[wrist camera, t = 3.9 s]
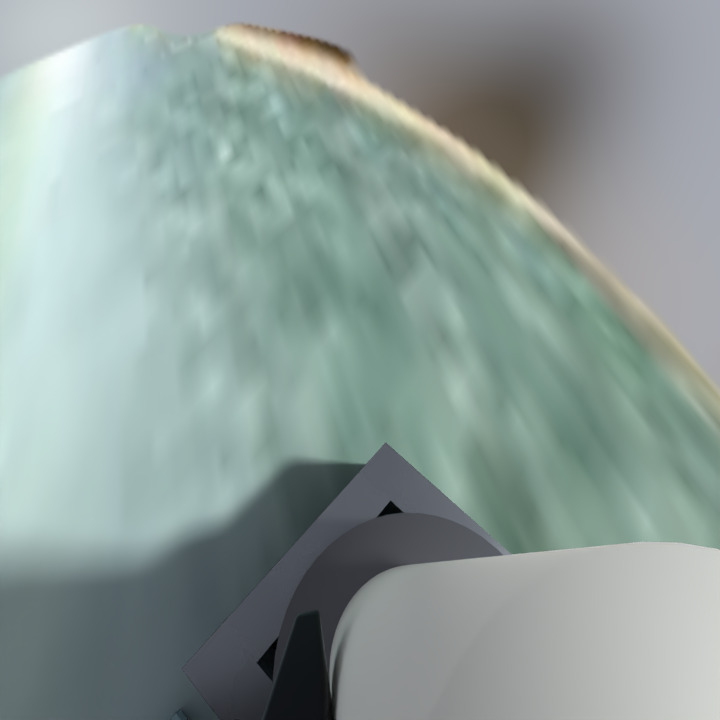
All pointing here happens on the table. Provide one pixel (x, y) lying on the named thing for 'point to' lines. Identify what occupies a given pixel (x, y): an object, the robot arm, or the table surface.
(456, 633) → the pin
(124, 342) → the table surface
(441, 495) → the block
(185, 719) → the mat
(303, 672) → the robot arm
